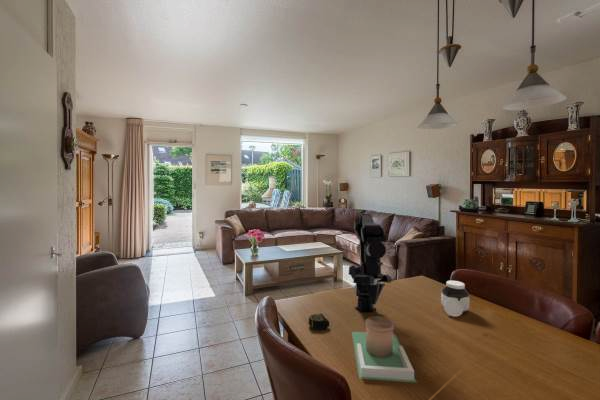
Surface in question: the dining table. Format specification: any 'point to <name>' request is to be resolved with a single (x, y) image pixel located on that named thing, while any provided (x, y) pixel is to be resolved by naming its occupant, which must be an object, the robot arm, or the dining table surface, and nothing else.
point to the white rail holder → (386, 372)
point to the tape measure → (318, 321)
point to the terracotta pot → (379, 336)
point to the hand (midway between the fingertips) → (373, 304)
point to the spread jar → (455, 298)
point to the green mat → (375, 361)
